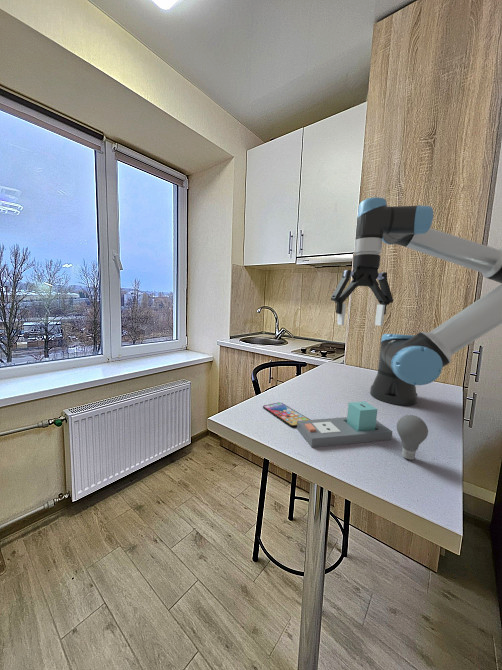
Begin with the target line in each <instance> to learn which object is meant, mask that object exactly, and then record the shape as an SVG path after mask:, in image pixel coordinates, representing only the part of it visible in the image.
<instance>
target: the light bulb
mask: <svg viewBox="0 0 502 670" xmlns="http://www.w3.org/2000/svg"><path fill="white" fill-rule="evenodd" d="M396 431H397V434H398V435H399V438H400V442H401V446H402V448H401V449H402V450H401V456H402V457H403V458H405V459H406V460H415V459H416V452H417V450H418V449H419V446H420V445H421V444H422V443H423V442H424V441H425V440H427V437H428V434H429V429H428V426H427V423H426V422H425V421H424V419H422V418H421V417H419V416H417V415H413V414H406V415H403V416H401V417H400V418H399V419H398V420H397V423H396Z"/></svg>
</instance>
